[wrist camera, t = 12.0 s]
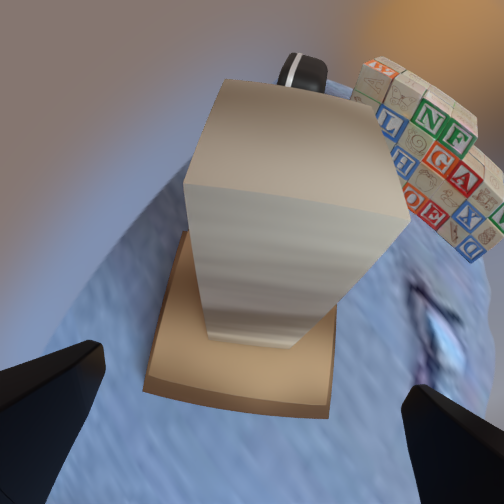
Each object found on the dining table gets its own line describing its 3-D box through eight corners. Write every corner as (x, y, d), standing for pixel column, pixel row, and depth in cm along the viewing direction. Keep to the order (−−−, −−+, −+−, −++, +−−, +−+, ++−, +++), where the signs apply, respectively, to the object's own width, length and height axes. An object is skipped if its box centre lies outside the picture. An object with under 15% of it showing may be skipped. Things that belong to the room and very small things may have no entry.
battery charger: (296, 186, 27) (329, 85, 18) (258, 175, 28) (278, 71, 18) (306, 144, 31) (333, 57, 21) (273, 135, 31) (293, 46, 21)
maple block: (312, 404, 16) (326, 405, 14) (157, 378, 16) (148, 375, 14) (325, 267, 21) (336, 252, 19) (193, 242, 21) (190, 223, 19)
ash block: (289, 349, 15) (411, 220, 5) (208, 339, 15) (182, 183, 5) (292, 277, 18) (371, 106, 7) (220, 268, 18) (224, 79, 7)
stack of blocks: (476, 233, 29) (535, 173, 18) (470, 265, 26) (541, 204, 15) (349, 133, 34) (382, 53, 23) (327, 153, 31) (362, 60, 20)
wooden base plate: (316, 417, 18) (328, 419, 16) (151, 392, 18) (142, 391, 16) (327, 271, 24) (337, 258, 22) (185, 247, 24) (182, 230, 22)
